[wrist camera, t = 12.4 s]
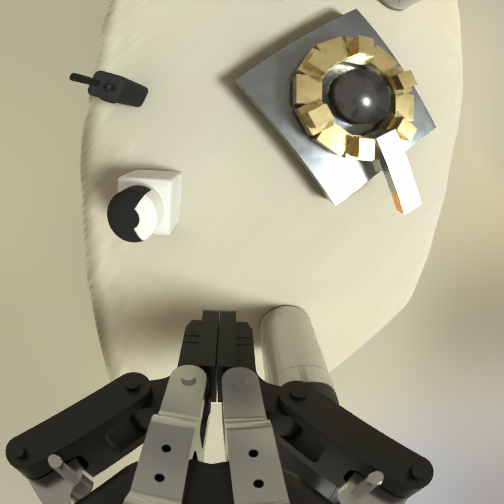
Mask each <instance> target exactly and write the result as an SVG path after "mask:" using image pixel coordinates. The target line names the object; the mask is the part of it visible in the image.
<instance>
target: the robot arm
mask: <svg viewBox="0 0 504 504" xmlns="http://www.w3.org/2000/svg"><path fill="white" fill-rule="evenodd" d="M259 328H260V338H261V348H262V356H263V365H264V373H265V381H264V380H262V379H261V378H260V377H259V376H258V374H257V372H256V366H255V355H254V343H253V332H252V328H251V327H250V326H249V324H248V323H247V322H236V311H220V324H219V311H216V310H204V311H203V316H202V321H200V320H192V321H191V322H190V323H189V324H188V325H187V326H186V329H185V333H184V338H183V343H182V347H181V352H180V357H179V362H178V367H177V368H176V369H175V370H173V372H172V373H171V375H170V376H168V377H166V378H163V379H158V380H151V381H149V379H148V378H147V377H146V376H145V375H143V374H140V373H136V372H132V373H127V374H124V375H122V376H121V377H119V378H117V379H116V380H114V381H112V382H111V383H109V384H108V385H106V386H104V387H102V388H101V389H99V390H97V391H96V392H94V393H92V394H91V395H89V396H87V397H86V398H84V399H83V400H80V401H79V402H77V403H75V404H74V405H72V406H70V407H68V408H67V409H65V410H63V411H62V412H60V413H58V414H56V415H54V416H53V417H51V418H49V419H48V420H45V421H44V422H42V423H40V424H38V425H36V426H35V427H33V428H31V429H29V430H27V431H25V432H24V433H22V434H20V435H18V436H16V437H14V438H13V439H11V440H10V441H9V442H8V444H7V447H6V457H7V459H8V461H9V463H10V464H11V465H12V466H13V467H15V468H16V469H17V470H18V471H19V472H21V473H22V474H23V476H25V477H26V478H27V479H28V480H29V482H30V484H31V485H32V487H33V489H34V490H35V492H36V494H37V495H38V497H39V499H40V500H41V502H42V503H43V504H404V503H405V502H406V500H407V499H408V497H410V496H412V495H413V494H415V493H416V492H418V491H419V490H421V489H422V488H424V487H425V486H426V485H428V484H429V483H430V481H431V480H432V477H433V467H432V465H431V463H430V462H429V461H428V460H427V459H426V458H424V457H422V456H420V455H418V454H417V453H415V452H413V451H412V450H410V449H408V448H406V447H405V446H403V445H401V444H400V443H398V442H396V441H394V440H393V439H391V438H389V437H388V436H386V435H384V434H383V433H381V432H380V431H378V430H377V429H375V428H373V427H372V426H370V425H368V424H367V423H365V422H364V421H362V420H361V419H359V418H358V417H356V416H355V415H353V414H352V413H350V412H349V411H347V410H346V409H344V408H343V407H341V406H340V405H339V402H338V399H337V396H336V393H335V390H334V387H333V384H332V381H331V378H330V376H329V373H328V370H327V367H326V364H325V361H324V358H323V355H322V352H321V350H320V347H319V344H318V341H317V338H316V335H315V333H314V330H313V327H312V324H311V321H310V318H309V316H308V314H307V313H306V312H305V311H304V310H302V309H301V308H298V307H295V306H282V307H278V308H275V309H273V310H271V311H269V312H268V313H267V314H266V315H265V316H264V317H263V318H262V320H261V322H260V327H259ZM217 391H218V402H222V423H223V434H224V446H225V459H226V462H221V463H215V464H208V463H204V450H205V443H206V436H207V429H208V423H209V414H210V410H211V402H216V396H217ZM143 443H144V444H143ZM141 444H143V447H142V451H141V454H140V458H139V461H137V462H135V463H132V464H130V465H128V466H126V467H125V468H124V469H122V470H121V471H120V472H118V473H117V474H115V475H114V476H113V477H112V478H110V479H109V480H107V481H106V482H105V483H103V484H102V485H100V486H99V487H97V488H96V489H95V490H93V491H92V492H91V490H92V488H93V477H94V476H96V475H97V474H99V473H100V472H102V471H104V470H105V469H107V468H108V467H109V466H111V465H113V464H114V463H116V462H117V461H119V460H120V459H122V458H123V457H124V456H126V455H127V454H129V453H130V452H132V451H133V450H134V449H136V448H137V447H138V446H140V445H141ZM88 493H89V494H88Z"/></svg>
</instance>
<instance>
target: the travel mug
mask: <svg viewBox="0 0 504 504" xmlns="http://www.w3.org/2000/svg"><path fill="white" fill-rule="evenodd" d="M380 1H381V2H382V3H383V4H384V5H385V6H387V7H388V8H390V9H393V10H396V11H402V10H404V9H406V8H407V7H409V6H411V5H413V4H415V3H417V2H418V1H420V0H380Z"/></svg>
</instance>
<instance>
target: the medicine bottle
mask: <svg viewBox="0 0 504 504" xmlns="http://www.w3.org/2000/svg"><path fill="white" fill-rule="evenodd" d="M181 185H182V173H181V172H177V171H160V170H140V169H137V170H134V171H132V172H129V173H127V174H125V175H122V176H120V177H119V178H118V193H117V194H116V195H115V196H114V197H113V198H112V200H111V201H110V203H109V206H108V210H107V218H108V222H109V225H110V227H111V229H112V230H113V232H114V233H115V234H116V235H117V236H118V237H120V238H121V239H123V240H125V241H128V242H140V241H143V240H145V239H147V238H148V237H149V236H150V235H151V234H156V235H169V234H170V233H171V231H172V230H173V228H174V226H175V225H176V223H177V222H178V220H179V218H180V200H181Z"/></svg>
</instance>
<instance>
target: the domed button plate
mask: <svg viewBox="0 0 504 504" xmlns="http://www.w3.org/2000/svg"><path fill="white" fill-rule="evenodd" d="M358 35H361V36H365V37H369V38H373V39H374V46H375V45H378V46H379V47H381V48H382V49H383V50H384V51H386V52H387V53H388V54H389V55H390V56H392V57H393V58H394V59H395V60H396V58H395V57H394V55H393V54H392V53H391V51H390V50H389V48H388V47H387V46H386V44H385V43H384V42H383V40H382V39H381V38H380V36H379V35H378V34H377V33H376V31H375V30H374V29H373V28H372V26H371V25H370V24H369V23H368V22H367V20H366V19H365V18H364V17H363V16H362V15H361V13H360V12H359V11H358V10H357V9H355V10H353V11H350V12H348V13H346V14H344V15H342V16H340V17H338V18H336V19H334V20H332V21H330V22H328V23H326V24H324V25H322V26H320V27H318V28H316V29H315V30H313V31H311V32H309V33H307V34H306V35H304V36H302V37H300V38H299V39H297V40H295V41H294V42H292V43H290V44H289V45H287V46H285V47H284V48H282V49H280V50H279V51H277V52H276V53H274V54H273V55H271V56H270V57H268V58H267V59H265V60H264V61H262V62H261V63H259V64H258V65H256V66H255V67H253V68H252V69H250V70H249V71H248V72H246V73H245V74H243V75H242V76H241V77H239V78H238V79H236V86H237V87H238V88H239V89H240V90H241V91H242V93H243V94H244V95H245V96H246V97H247V98H248V99H249V100H250V102H251V103H252V104H253V105H254V106H255V107H256V108H257V110H258V111H259V112H260V113H261V114H262V115H263V117H264V118H265V119H266V120H267V121H268V123H269V124H270V125H271V126H272V127H273V129H274V130H275V131H276V132H277V134H278V135H279V136H280V137H281V138H282V140H283V141H284V142H285V143H286V145H287V146H288V147H289V149H290V150H291V151H292V152H293V154H294V155H295V156H296V158H297V159H298V160H299V161H300V163H301V164H302V165H303V167H304V168H305V169H306V171H307V172H308V173H309V175H310V176H311V177H312V179H313V180H314V182H315V183H316V184H317V186H318V187H319V188H320V190H321V191H322V193H323V194H324V195H325V197H326V198H327V199H328V200H329V201H330V202H332V203H333V204H334V205H335V206H336V205H337V204H339V203H340V202H341V201H342V200H344V199H345V198H346V197H348V196H349V195H350V194H352V193H353V192H354V191H355V190H357V189H358V188H359V187H361V186H362V185H363V184H364V183H366V182H367V181H368V180H370V179H371V178H372V177H373V176H375V175H376V174H377V173H379V172H380V171H381V170H383V169H382V167H381V164H380V162H379V159H378V160H372V161H368V160H358V159H347V158H343V157H339V156H337V155H334V154H333V153H331V152H330V151H328V150H327V149H325V148H324V147H322V146H321V145H319V144H318V143H316V142H315V141H313V140H312V138H313V136H314V135H313V136H311V135H308V134H307V133H306V131H305V129H304V127H303V125H302V123H301V122H300V120H299V118H298V116H297V115H296V113H295V111H294V110H295V109H297V108H299V107H301V106H300V105H293V77H294V76H295V75H296V74H295V73H294V72H295V71H296V69H297V68H298V66H299V65H300V63H301V62H302V61H303V59H304V58H305V56H306V55H307V53H308V52H309V51H310V50H311V49H312V48H314V47H315V46H316V45H317V44H320V43H323V42H325V41H328V40H331V39H334V38H337V37H340V36H341V37H342V39H343V38H344V37H345V36H348V37H352V38H355V37H356V36H358ZM396 61H397V60H396ZM397 62H398V61H397ZM397 67H400V64H399V63H397V65H396V67H395V68H397ZM403 71H404V70H403ZM412 90H413V91H411V92H408V93H407V94H411V95H414V121H410V122H411V123H412V124H413V125H414V126H415V127H416V128H417V130H416V132H415V134H414V136H413V137H412V139H411V141H407V140H404V142H403V143H402V147H403V149H404V152H405V151H406V150H408V149H409V148H410V147H412V146H413V145H414V144H415V143H417V142H418V141H419V140H420V139H422V138H423V137H424V136H425V135H427V134H428V133H429V132H430V131H432V130H433V129H434V128H435V127H436V126H435V124H434V122H433V120H432V118H431V116H430V115H429V113H428V111H427V109H426V107H425V105H424V103H423V102H422V100H421V98H420V96H419V95H418V93H417V91H416V89H415V88H414V86H412ZM322 102H323V104H327V105H328V107H329V109H330V111H331V113H332V115H333V117H334V119H335V120H333V122H334V123H335V124H337V125H338V126H340V127H341V128H342V129H344V130H345V131H347V132H348V133H349V134H351V135H359V136H364V135H366V134H368V133H370V132H372V131H375V130H377V129H378V128H379V127H380V125H381V123H382V122H383V120H384V118H385V116H386V115H387V113H388V111H389V108H390V103H391V99H390V93H389V90H388V87H387V85H386V84H385V82H384V81H383V79H382V78H381V77H380V76H379V75H377V74H376V73H375V72H373V71H371V70H368V69H367V68H366V67H365V66H363V65H360V64H355V63H350V62H341V63H338V64H336V65H333V66H331V67H330V69H329V70H328V72H327V73H326V75H325V76H324V78H323V79H322Z"/></svg>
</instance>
